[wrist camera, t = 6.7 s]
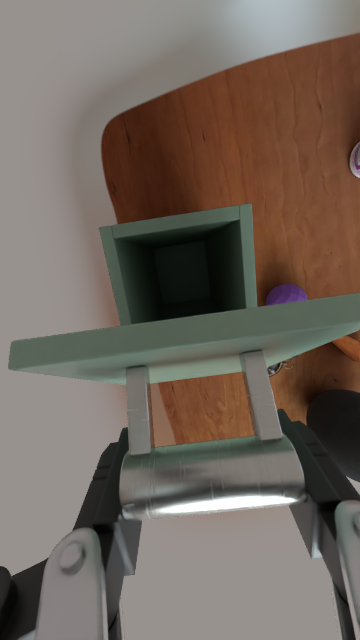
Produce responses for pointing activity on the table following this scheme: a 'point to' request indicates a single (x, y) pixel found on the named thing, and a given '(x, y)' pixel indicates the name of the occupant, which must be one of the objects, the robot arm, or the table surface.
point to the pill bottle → (355, 160)
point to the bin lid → (190, 362)
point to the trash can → (182, 264)
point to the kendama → (295, 293)
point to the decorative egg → (338, 427)
